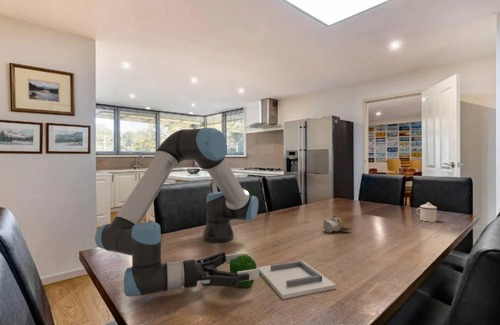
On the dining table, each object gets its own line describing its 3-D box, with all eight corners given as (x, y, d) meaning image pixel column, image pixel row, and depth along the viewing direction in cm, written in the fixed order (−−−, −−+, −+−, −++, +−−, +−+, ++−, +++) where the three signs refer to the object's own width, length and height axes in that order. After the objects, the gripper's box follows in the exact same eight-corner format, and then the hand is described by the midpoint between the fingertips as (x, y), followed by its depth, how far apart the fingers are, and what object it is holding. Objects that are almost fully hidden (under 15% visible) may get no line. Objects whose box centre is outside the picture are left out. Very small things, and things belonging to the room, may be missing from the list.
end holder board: (257, 270, 93) (257, 263, 93) (302, 263, 99) (302, 256, 99) (282, 299, 74) (282, 289, 74) (335, 288, 80) (335, 279, 80)
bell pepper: (226, 280, 85) (226, 250, 85) (250, 276, 88) (250, 247, 88) (234, 293, 77) (234, 259, 77) (260, 288, 80) (260, 256, 80)
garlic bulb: (318, 214, 145) (339, 213, 150) (317, 230, 145) (338, 228, 150) (331, 218, 135) (353, 217, 141) (330, 235, 135) (352, 233, 141)
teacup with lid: (440, 221, 163) (440, 203, 163) (431, 223, 160) (431, 204, 160) (421, 217, 174) (421, 200, 174) (412, 219, 171) (412, 201, 171)
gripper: (179, 270, 88) (239, 261, 95) (186, 310, 65) (266, 295, 72) (179, 247, 88) (239, 241, 95) (186, 280, 65) (266, 268, 72)
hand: (251, 264), depth 84 cm, fingers open, 13 cm apart
